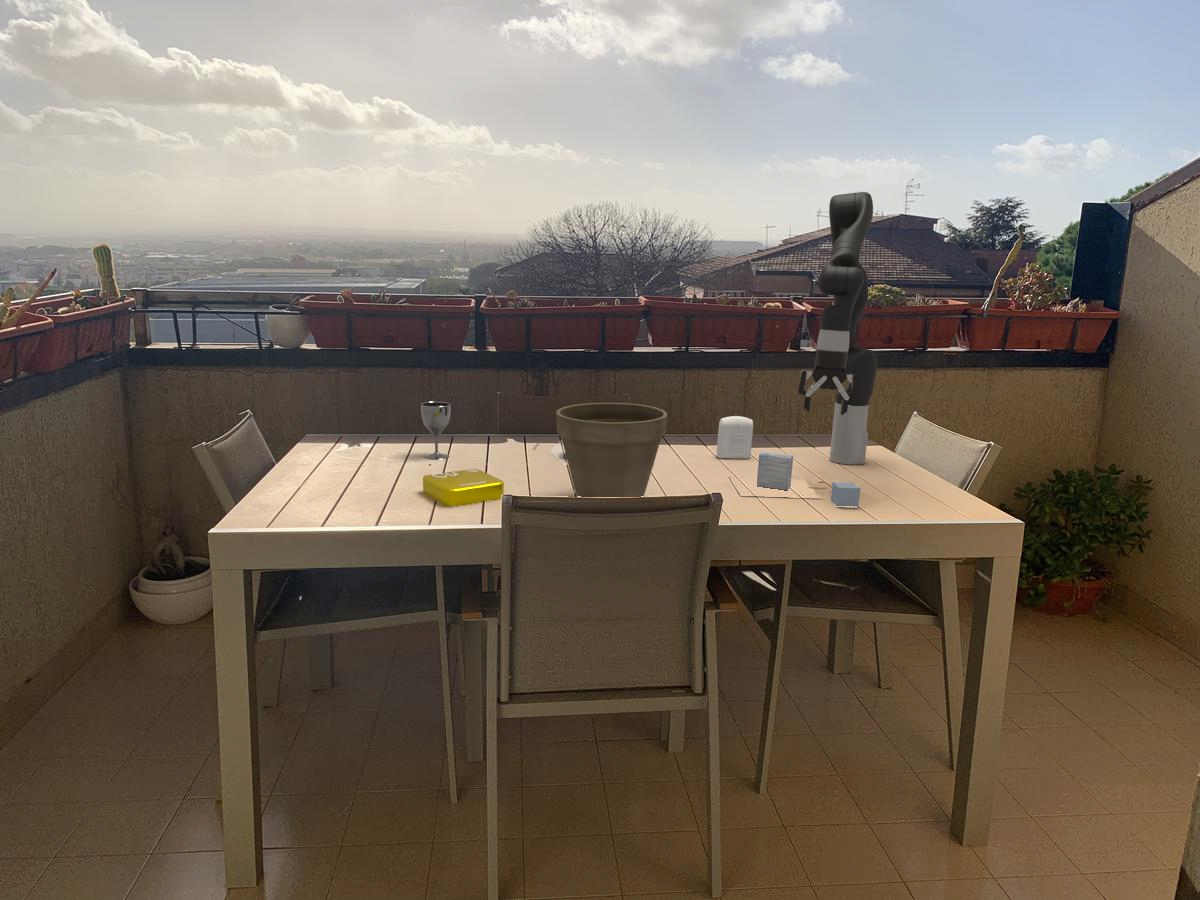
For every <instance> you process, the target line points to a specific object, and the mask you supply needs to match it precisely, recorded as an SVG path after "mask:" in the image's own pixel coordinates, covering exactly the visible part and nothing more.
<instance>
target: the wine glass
mask: <svg viewBox="0 0 1200 900" xmlns="http://www.w3.org/2000/svg"><path fill="white" fill-rule="evenodd" d="M451 410H452V409H451V403H450V402H447V401H425V402H422V403H420V413H421V418H422V422H423V425H424V426H425V427H426V428H427V429H428V431H430V433H431V435H432V436H433V440H434V441H433V442H434V452H433V453H429V454H425V455H424V456H423V458H424V459H426V460H434V461H438V460H439V461H441V460H447V459H449V458H450V455H449V454H446V453H440V452H439V438H440V436H441V433H442V432H443V431H444V429H445V428H446V427H448V425H449V423H450V419H451Z"/></svg>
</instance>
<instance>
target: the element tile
mask: <svg viewBox="0 0 1200 900" xmlns="http://www.w3.org/2000/svg"><path fill="white" fill-rule="evenodd" d="M504 484H505V483H504V481H503V479H499V478H498V477H496V476H493V475H491V474H489V473H487V472H485V471H482V470H481V469H477V468H471V469H463V470H461V469H460V470H456V471H455V470H454V471H448V472H436V473H435V472H434V473H432V474H426V475H423V477H422V493H423V494H424V495H425V496H427V497H429V498H430V499H432V500H433V501H435V502H437V503H438V502H439V503H438V504H440V503H441V504H440V505H442V506H443V505H444V506H443V507H447V506H456V507H460V506H459V505H463V506H467V505H466V504H469V505H473V504H472V503H475V504H478V503H477V502H481V503H484V502H483V501H487V500H493V501H499V500H502V499H501V495H502V494H504V493H505V492H504V491H505V490H504V488H505V487H504V486H505V485H504ZM498 499H499V500H498ZM487 502H488V501H487Z"/></svg>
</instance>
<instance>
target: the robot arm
mask: <svg viewBox="0 0 1200 900" xmlns="http://www.w3.org/2000/svg"><path fill="white" fill-rule="evenodd" d="M828 208H829V209H828V212H829V214H828V215H829V225H830V226H829V227H830V235H831V236H830V237H831V246H832V248H831V252H830V258H829V260H828V261H827V263H825V265H824V266H823V268H822V269H821V271H820V273H819V275H818V280H817V287H818V290H819V291H820V293H821V294H823V295H825V296H833V303H834V305H833V304H832V305H826V306H825V307H823V309H822V313H821V320H820V330H819V334H818V337H817V344H816V345H817V346H816V353H815V354H816V355H815V362H814V368H813V370H811V371H810V370H805V369H802V370H801V371H800V375H799V376H800V377H799V381H798V387H797V392H798V394H799V395H803V396H804V399H803V409H804V410H805V412H806V413H809V412H810V409H811V400H812V397H811V396H812V394H814V392H816V391H817V390H818V389H821V390H831V391H835V390H838V392H837V393H836V395H835V403H834V410H833V411H834V413H833V422H832V430H831V431H832V432H831V433H832V434H831V441H830V442H831V443H830V451H829V461H831V462H832V463H837V464H841V465H853V466H854V465H861V464H862V465H864V464H866V463H865V462H866V454H867V445H868V437H869V432H868V430H867V424H868V423H867V422H868V414H869V406H870V405H869V404H870V399H871V397H872V395H873V392H874V387H875V381H876V375H877V369H878V360H877V355H876V353H875V352H874V351H873V350H871V349H869V348H862V347H857V345H856V331H857V326H858V324H859V322H860V319H861V318H862V315H863V314H864V312H865V310H866V308H867V305H868V302H869V277H868V273H867V272H866V270H865V268H864V267H863V265H862V264H861V263H860V258H861V257H860V256H861V250H862V246H863V244H864V241H865V238H866V237H867V234H868V233H869V232H868V231H869V229H870V227H871V224H872V221H873V216H874V202H873V197H872V195H871V194H870V193H869V192H867V191H858V192H850V193H849V192H848V193H842V194H841V193H840V194H836V195H835V194H834V195H833V196H831V198H830V201H829V207H828ZM844 230H845V231H844ZM810 377H812V379H813V380H814V382H812V384H811V385H810V386H809V387H808V389H806V390H805V385H806V381H807V380H808V379H809V378H810ZM846 380H848V382H849V385H848V387H847V388H846V389H845V388H844V386H843V383H844V382H845V381H846Z"/></svg>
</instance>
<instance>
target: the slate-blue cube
mask: <svg viewBox="0 0 1200 900" xmlns="http://www.w3.org/2000/svg"><path fill="white" fill-rule="evenodd" d="M860 493H861V488H860V486H858V485H857V484H856V483H854V482H847V481H844V482H842V481H832V485H831V495H830V502H831V501H832V502H833V503H834V504H835V505H836V506H854V507H855V506H858V507H859V503H860V502H859V501H860Z"/></svg>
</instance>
